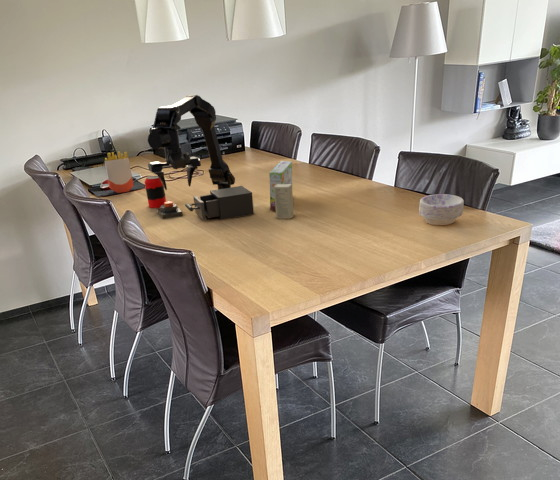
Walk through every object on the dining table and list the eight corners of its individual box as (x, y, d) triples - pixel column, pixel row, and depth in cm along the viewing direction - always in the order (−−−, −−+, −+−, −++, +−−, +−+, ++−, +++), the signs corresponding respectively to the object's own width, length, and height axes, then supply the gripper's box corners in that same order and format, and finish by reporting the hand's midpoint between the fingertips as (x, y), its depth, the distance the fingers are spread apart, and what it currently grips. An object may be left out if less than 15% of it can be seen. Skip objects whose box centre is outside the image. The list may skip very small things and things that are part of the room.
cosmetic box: (294, 215, 223) (292, 183, 217) (290, 219, 220) (289, 186, 213) (279, 215, 225) (277, 183, 219) (275, 218, 222) (273, 186, 215)
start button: (163, 206, 234) (162, 202, 233) (172, 204, 235) (171, 200, 234) (165, 208, 231) (164, 204, 230) (174, 207, 232) (173, 202, 231)
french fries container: (110, 192, 273) (101, 152, 263) (132, 188, 276) (125, 149, 267) (111, 194, 269) (103, 154, 260) (134, 190, 273) (127, 150, 263)
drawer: (192, 222, 221) (189, 204, 217) (185, 214, 230) (182, 197, 226) (233, 215, 226) (231, 197, 222) (225, 208, 235) (223, 191, 231)
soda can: (170, 204, 248) (165, 175, 242) (160, 209, 242) (155, 180, 236) (155, 203, 251) (150, 174, 245) (145, 207, 245) (140, 179, 239)
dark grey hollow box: (221, 219, 224) (218, 197, 219) (212, 212, 234) (209, 190, 230) (253, 214, 228) (252, 192, 223) (243, 206, 238) (242, 185, 233)
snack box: (283, 211, 229) (282, 172, 221) (269, 211, 230) (267, 172, 222) (293, 196, 247) (292, 160, 239) (280, 196, 248) (279, 160, 240)
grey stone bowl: (437, 231, 198) (439, 208, 194) (409, 220, 210) (411, 198, 205) (471, 222, 203) (473, 200, 199) (442, 212, 215) (444, 191, 211)
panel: (158, 212, 238) (156, 204, 236) (176, 209, 240) (175, 201, 238) (163, 219, 230) (161, 210, 228) (182, 215, 232) (181, 207, 230)
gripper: (151, 150, 200) (159, 196, 208) (202, 144, 206) (207, 188, 214) (144, 146, 209) (151, 190, 217) (193, 140, 215) (198, 183, 223)
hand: (177, 188), depth 217 cm, fingers open, 9 cm apart
